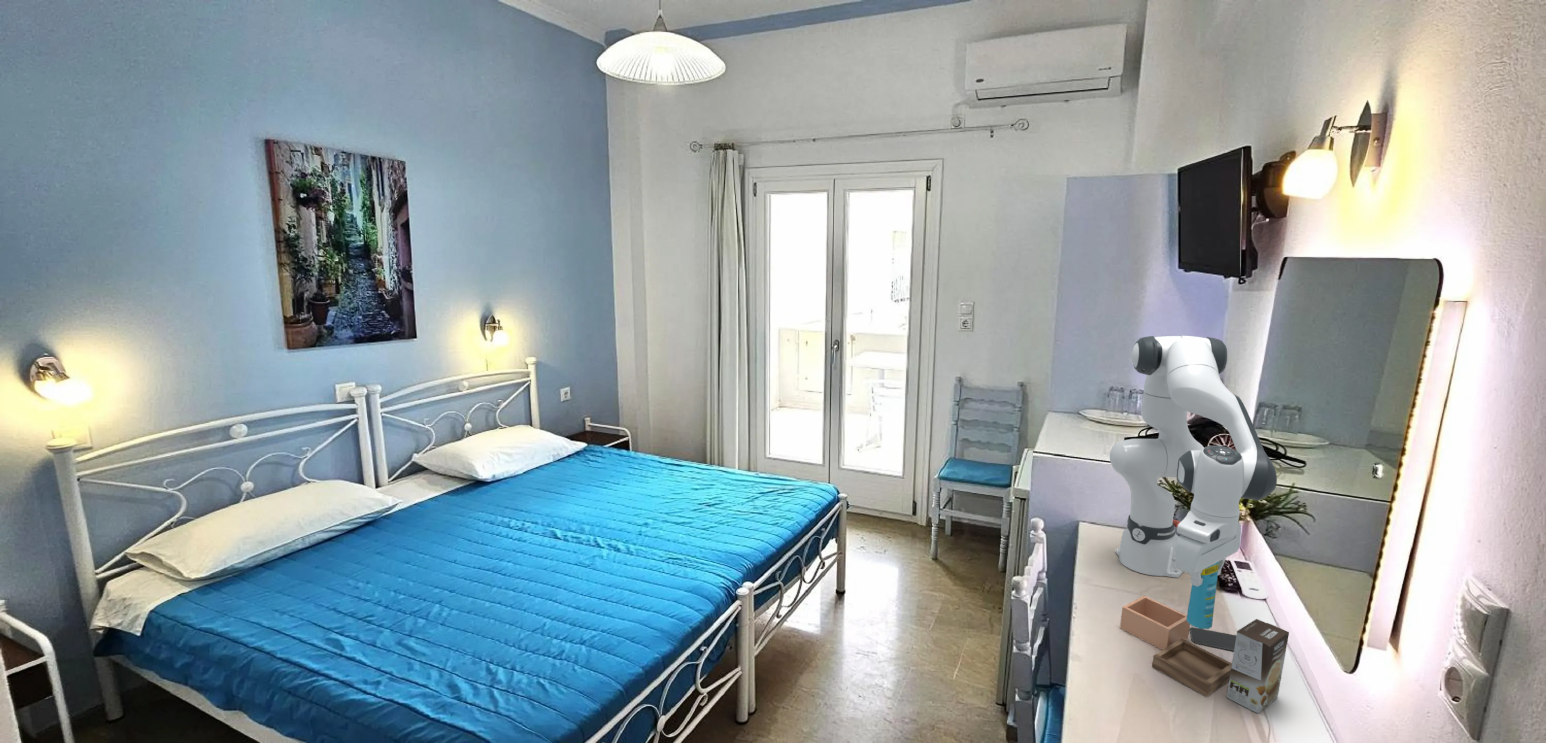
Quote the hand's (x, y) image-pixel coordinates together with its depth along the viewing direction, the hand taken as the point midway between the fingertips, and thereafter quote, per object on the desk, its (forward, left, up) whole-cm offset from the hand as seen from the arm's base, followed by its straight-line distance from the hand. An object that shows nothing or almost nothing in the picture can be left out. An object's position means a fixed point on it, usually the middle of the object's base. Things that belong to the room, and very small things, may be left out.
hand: (1205, 579), depth 149 cm
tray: (0, 0, -23) cm, 23 cm away
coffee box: (-2, +11, -24) cm, 26 cm away
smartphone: (-18, -1, -24) cm, 30 cm away
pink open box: (-7, -13, -23) cm, 27 cm away
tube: (0, 0, -11) cm, 11 cm away
